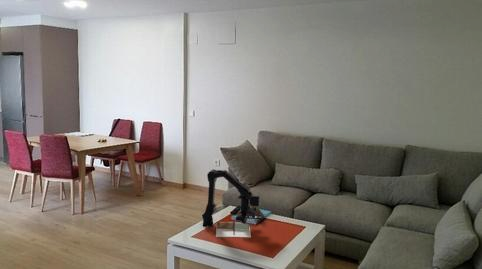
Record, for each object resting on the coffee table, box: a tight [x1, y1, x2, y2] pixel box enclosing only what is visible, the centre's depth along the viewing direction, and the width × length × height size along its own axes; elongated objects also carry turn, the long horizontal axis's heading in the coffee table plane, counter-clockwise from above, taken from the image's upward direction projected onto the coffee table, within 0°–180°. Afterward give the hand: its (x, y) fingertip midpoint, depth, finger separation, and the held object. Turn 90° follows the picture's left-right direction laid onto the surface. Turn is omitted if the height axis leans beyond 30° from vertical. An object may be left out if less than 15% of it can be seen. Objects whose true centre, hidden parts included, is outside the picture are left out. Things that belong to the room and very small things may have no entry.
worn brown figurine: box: [249, 204, 265, 219], centre depth 289 cm, size 12×6×18 cm, turn 86°
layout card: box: [215, 226, 252, 238], centre depth 262 cm, size 23×17×1 cm
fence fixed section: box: [216, 221, 236, 229], centre depth 266 cm, size 12×1×5 cm, turn 92°
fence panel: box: [234, 221, 250, 230], centre depth 265 cm, size 10×1×4 cm, turn 80°
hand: (244, 225), depth 268 cm, fingers closed
